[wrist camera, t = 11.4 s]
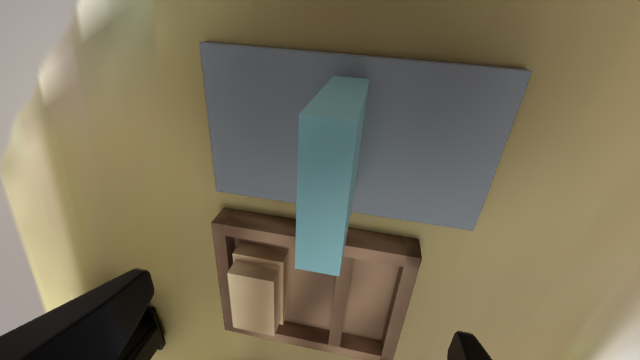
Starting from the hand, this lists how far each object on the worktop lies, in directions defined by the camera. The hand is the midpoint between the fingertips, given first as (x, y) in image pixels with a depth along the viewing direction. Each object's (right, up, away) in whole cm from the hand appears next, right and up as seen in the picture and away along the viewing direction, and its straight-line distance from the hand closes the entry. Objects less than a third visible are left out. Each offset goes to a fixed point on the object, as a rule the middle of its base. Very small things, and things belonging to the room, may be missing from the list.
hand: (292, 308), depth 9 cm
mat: (+2, +6, +11) cm, 13 cm away
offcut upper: (-4, -5, +16) cm, 17 cm away
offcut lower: (-4, -5, +17) cm, 18 cm away
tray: (+1, -5, +17) cm, 18 cm away
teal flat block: (+2, +6, +10) cm, 12 cm away
